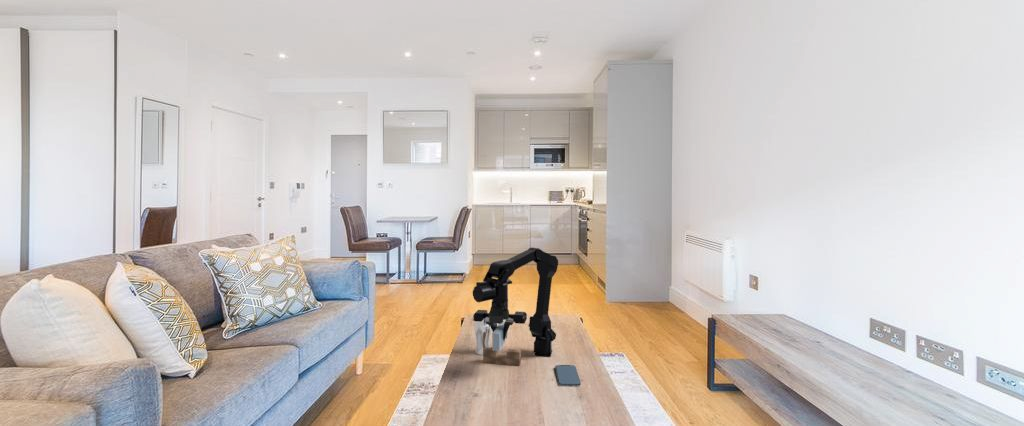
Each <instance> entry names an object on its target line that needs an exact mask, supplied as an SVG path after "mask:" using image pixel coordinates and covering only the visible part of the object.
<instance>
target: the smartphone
mask: <svg viewBox="0 0 1024 426" xmlns="http://www.w3.org/2000/svg"><path fill="white" fill-rule="evenodd" d="M554 370H555V374H556V379H557V385H558V386H560V387H581V386H580V385H581V384H582V383H581V380H580V377H579V373H578V371H577V370H578V369H577V367H576V365H573V364H557V365H555V366H554Z"/></svg>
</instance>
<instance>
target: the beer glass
mask: <svg viewBox="0 0 1024 426" xmlns="http://www.w3.org/2000/svg"><path fill="white" fill-rule="evenodd" d="M473 322H474V324H473V325H474V326H473V327H474V330H473V331H474V336H475V345H476V347H475V351H474V352H475V354H476V355H480V356H483V349H484V348H485V347H489V348H491V346H490V342H491V341H490V340H491V335H492V329H491V327H490V325H489V324H486V318H484V319H483V320H482V321H481V322H480V321H473Z"/></svg>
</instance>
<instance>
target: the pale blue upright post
mask: <svg viewBox="0 0 1024 426" xmlns="http://www.w3.org/2000/svg"><path fill="white" fill-rule="evenodd" d="M504 323H505V320H503V323H501V324H497V328H496V329H495V330H494V332H493V331H492V332H491V335H492V348H493V350H495V351H498V352H499V351H501V349H502V347H503V346H504V344H505V342H506V339H508V332H509V331H508V332H507V335H506V338H505V340H503V334H504Z"/></svg>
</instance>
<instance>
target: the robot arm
mask: <svg viewBox="0 0 1024 426" xmlns="http://www.w3.org/2000/svg"><path fill="white" fill-rule="evenodd" d="M531 262H534V263H536V271H537V273H538V276H539V277H538V286H537V287H538V289H537V298H536V306H535V312H534V314H533V315H532V316H529V323H528V328H529V329H528V330H529V332H530V334H531V337H532V338H535V339H534V342H533V353H534V356H536V357H537V356H540V357H551V356H552V353H553V349H552V348H553V342H554V341H555V340H556V338H557V333H556V332H555V331H554V330H553V328H552V320H551V318H550V315H549V310H550V309H549V308H550V300H551V291H552V290H551V289H552V280H553V278H554V275H555V274H556V273H557V271H558V266H559V260H558V258H557V256H556V255H552V254H549V253H547V252H546V251H543V250H542V249H541V248H539V247H529V248H528V249H526V250H524V251H523V252H521V253H518V254H516V255H515V256H513V257H510V258H508V259H504V260H503V259H502V260H498V261H497V260H496V261H493V262H492V263H490V265H489V268H488V270H487V272H486V274H485V276H484V278H483V280H482V281H477V282H476V284H475V286H474V287H473V288H472V289H473V290H472V297H473V299H474V301H475V302H477V303H482V302H486V301H491V307H490V309H489V312H488V309H478V310H476V311H475V312H474V313H473V316H472V317H473V318H472V319H473V322H475V321H480V322H481V321H482V320H483V319H484V318H486V324H489V325H490V327H491V332H492V333H493V332H494V330H495V329H496V328H497V326H498V325H499V324H501V323H503V321H505V323H504V334H503V340H505V341H506V339H507V338H506V335H507V332H509V329H510V326H512V325H513V324H514V323H515V324H520V325H521V324H522V325H523V324H525V323H526V322H527V319H528V317H527V316H528V314H527V313H526V312H525V311H515V313H510V310H509V292H508V290H509V289H508V288H509V286H508V285H510V284H511V285H512V284H513V281H512V280H511V279H510V277H512V276H513V275H514V274H515V273H514V272H515V271H516V270H518V269H520V268H522V267H524V266H525V265H527V264H530V263H531Z"/></svg>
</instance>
